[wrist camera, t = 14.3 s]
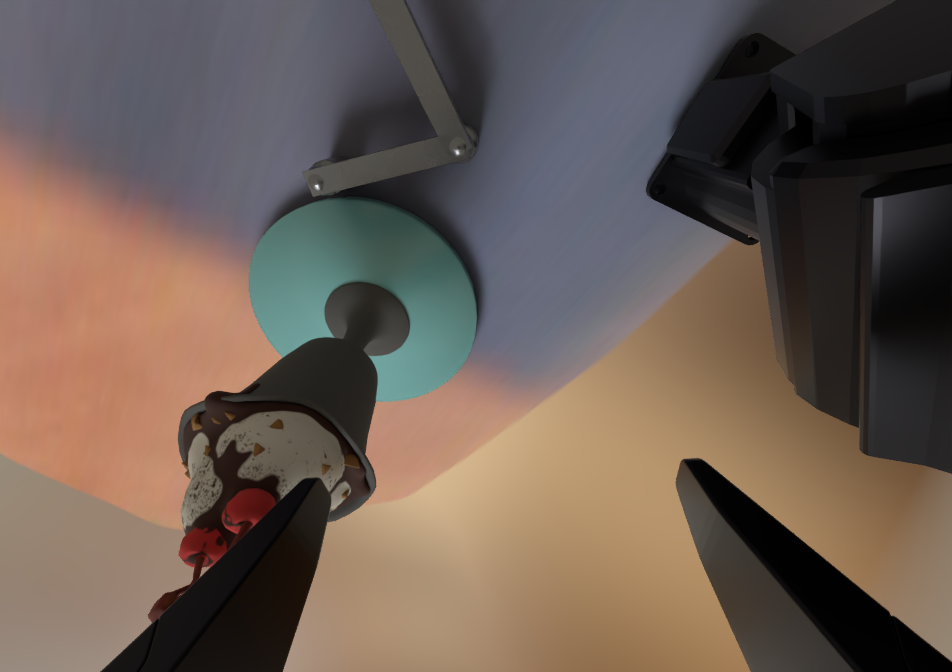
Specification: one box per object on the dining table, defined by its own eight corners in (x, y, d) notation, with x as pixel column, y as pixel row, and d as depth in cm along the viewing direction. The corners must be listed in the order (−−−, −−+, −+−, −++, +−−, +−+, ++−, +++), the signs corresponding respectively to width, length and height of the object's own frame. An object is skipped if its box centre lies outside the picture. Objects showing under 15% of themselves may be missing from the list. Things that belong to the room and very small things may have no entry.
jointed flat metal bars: (534, -8, 14) (543, -36, 11) (446, 231, 19) (439, 250, 16) (343, -115, 12) (302, -176, 10) (305, 171, 17) (271, 182, 15)
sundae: (402, 253, 18) (196, 569, 6) (437, 357, 22) (358, 696, 9) (288, 277, 19) (-101, 590, 7) (339, 372, 23) (146, 697, 10)
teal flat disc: (514, 255, 19) (515, 261, 18) (436, 413, 26) (434, 424, 25) (268, 151, 17) (256, 153, 16) (252, 354, 24) (243, 363, 23)
